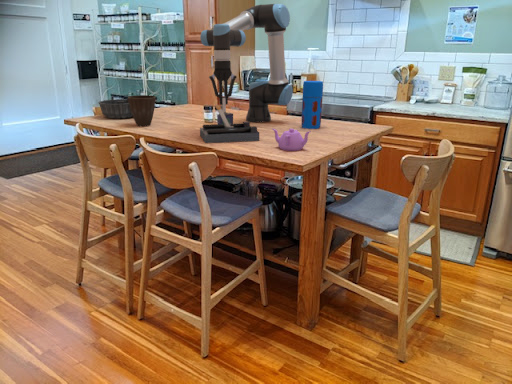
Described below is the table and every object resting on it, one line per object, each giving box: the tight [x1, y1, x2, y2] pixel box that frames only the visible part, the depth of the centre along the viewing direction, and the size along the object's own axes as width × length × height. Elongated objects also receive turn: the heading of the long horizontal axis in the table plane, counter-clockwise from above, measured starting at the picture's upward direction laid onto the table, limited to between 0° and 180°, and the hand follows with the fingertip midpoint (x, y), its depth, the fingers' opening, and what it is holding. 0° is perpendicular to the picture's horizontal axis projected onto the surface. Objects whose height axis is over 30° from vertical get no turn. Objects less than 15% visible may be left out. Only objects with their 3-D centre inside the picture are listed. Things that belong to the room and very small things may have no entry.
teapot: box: [272, 128, 311, 152], centre depth 182 cm, size 12×14×9 cm
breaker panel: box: [199, 121, 260, 144], centre depth 202 cm, size 26×18×6 cm
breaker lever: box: [215, 104, 230, 128], centre depth 199 cm, size 2×5×13 cm, turn 14°
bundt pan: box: [97, 98, 133, 120], centre depth 259 cm, size 26×26×10 cm
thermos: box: [301, 80, 324, 130], centre depth 229 cm, size 11×11×25 cm
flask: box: [216, 111, 234, 124], centre depth 220 cm, size 9×3×11 cm, turn 121°
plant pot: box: [127, 94, 157, 127], centre depth 231 cm, size 15×15×16 cm
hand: (223, 111), depth 198 cm, fingers closed
